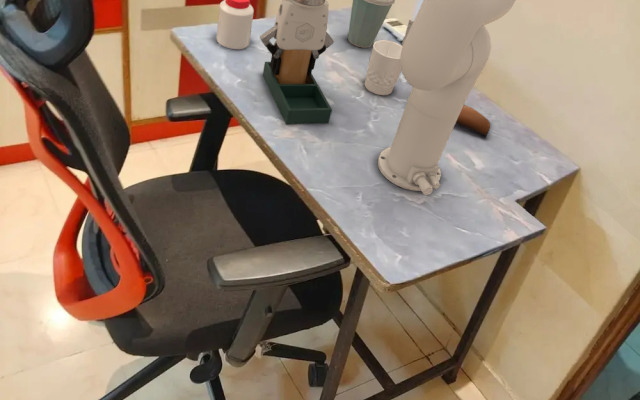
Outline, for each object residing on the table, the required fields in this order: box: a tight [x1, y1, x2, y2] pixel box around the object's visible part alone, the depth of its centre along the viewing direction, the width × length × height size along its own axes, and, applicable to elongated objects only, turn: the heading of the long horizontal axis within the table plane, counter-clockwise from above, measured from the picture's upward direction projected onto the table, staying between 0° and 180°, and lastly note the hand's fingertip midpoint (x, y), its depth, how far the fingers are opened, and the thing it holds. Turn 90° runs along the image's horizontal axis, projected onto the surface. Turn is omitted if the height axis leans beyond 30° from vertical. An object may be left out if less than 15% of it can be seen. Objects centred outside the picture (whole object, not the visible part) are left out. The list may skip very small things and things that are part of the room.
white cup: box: [364, 39, 403, 96], centre depth 134 cm, size 8×8×10 cm
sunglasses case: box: [455, 104, 491, 137], centre depth 133 cm, size 18×7×7 cm
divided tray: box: [262, 61, 333, 126], centre depth 126 cm, size 9×18×4 cm, turn 20°
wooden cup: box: [275, 50, 312, 84], centre depth 126 cm, size 7×7×10 cm
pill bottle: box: [216, 0, 255, 50], centre depth 136 cm, size 8×8×11 cm
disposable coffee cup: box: [347, 0, 396, 49], centre depth 148 cm, size 11×11×15 cm
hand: (291, 71), depth 127 cm, fingers closed on wooden cup, 6 cm apart
